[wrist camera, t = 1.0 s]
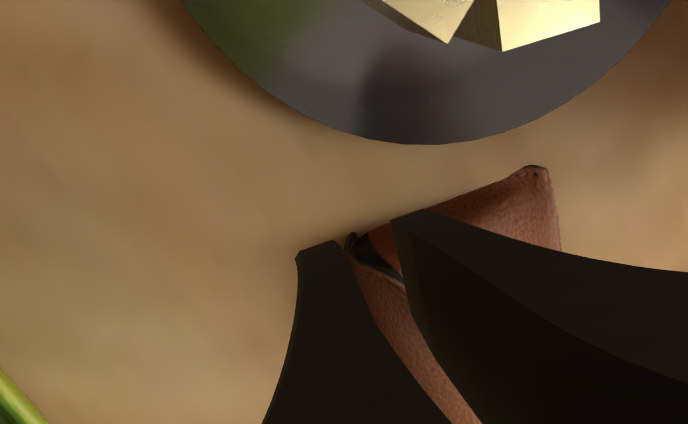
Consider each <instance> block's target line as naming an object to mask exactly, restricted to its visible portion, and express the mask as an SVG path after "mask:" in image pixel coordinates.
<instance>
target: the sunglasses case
mask: <svg viewBox="0 0 688 424" xmlns="http://www.w3.org/2000/svg"><path fill="white" fill-rule="evenodd" d="M425 210H429V211H432V212H436V213H439V214H442V215H445V216H448V217H451V218H453V219H456V220H459V221H462V222H465V223H468V224H471V225H474V226H476V227H479V228H482V229H485V230H488V231H491V232H494V233H497V234H501V235H504V236H507V237H510V238H513V239H516V240H520V241H523V242H527V243H530V244H534V245H537V246H541V247H545V248H549V249H553V250H557V251H561V252H562V249H561V243H560V231H559V224H558V214H557V210H556V201H555V197H554V191H553V188H552V185H551V180H550V178H549V174H548V170H547V169H546V168H543V167H539V166H535V165H528V166H524V167H523V168H521V169H519V170H518V171H516V172H515V173H513V174H511V175H510V176H509V177H508V178H505V179H503V180H501V181H499V182H495V183H492V184H490V185H487V186H485V187H482V188H479V189H477V190H474V191H471V192H469V193H466V194H464V195H460V196H458V197H456V198H453V199H451V200H449V201H446V202H442V203H440V204H438V205H436V206H433V207H430V208H427V209H425ZM344 250H345V253H346V255H347V257H348V260H349V262H350V264H351V267H352V269H353V271H354V274H355V276H356V279H357V281H358V283H359V286H360V288H361V291H362V293H363V295H364V298H365V300H366V303H367V305H368V307H369V310H370V312H371V314H372V316H373V318H374V320H375V322H376V324H377V326H378V328H379V329H380V330H381V332H382V333H383V335H384V336H385V338H386V339H387V341H388V342H389V343H390V345H391V346H392V348H393V349H394V351H395V352H396V354H397V355H398V356H399V358H400V359H401V361H402V362H403V363H404V365H405V366H406V367H407V368H408V370H409V371H410V372H411V374H412V375H413V376H414V378H415V379H416V380H417V382H418V383H419V384H420V386H421V387H422V388H423V390H424V391H425V392H426V393H427V394H428V396H429V397H430V398H431V399H432V400H433V401H434V403H435V404H436V405H437V406H438V407H439V409H440V410H441V411H442V412H443V413H444V414H445V416H446V417H447V418H448V419H449V420H450V422H451V423H452V424H482V423H481V422H480V420H479V419H478V418H477V416H476V415H475V414H474V412H473V411H472V409H471V408H470V407H469V405H468V404H467V403H466V401H465V400H464V399H463V397H462V396H461V394H460V393H459V392H458V390H457V389H456V388H455V386H454V385H453V383H452V382H451V381H450V379H449V378H448V377H447V375H446V374H445V372H444V371H443V370H442V368H441V367H440V365H439V364H438V363H437V361H436V360H435V358H434V356H433V354H432V353H431V351H430V349H429V347H428V345H427V344H426V342H425V340H424V338H423V336H422V334H421V332H420V331H419V329H418V327H417V325H416V323H415V321H414V319H413V317H412V316H411V312H410V307H409V303H408V298H407V294H406V289H405V285H404V280H403V276H402V271H401V267H400V262H399V258H398V253H397V249H396V244H395V240H394V235H393V231H392V226H391V223H388V224H385V225H383V226H380V227H378V228H376V229H374V230H371V231H369V232H368V233H366V234H365V235H363V236H362V237H359V238H358V237H357V234H356V233H355V232H352V233H351V234H350V235H349V237H348V238H347V241H346V243H345V245H344Z"/></svg>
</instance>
